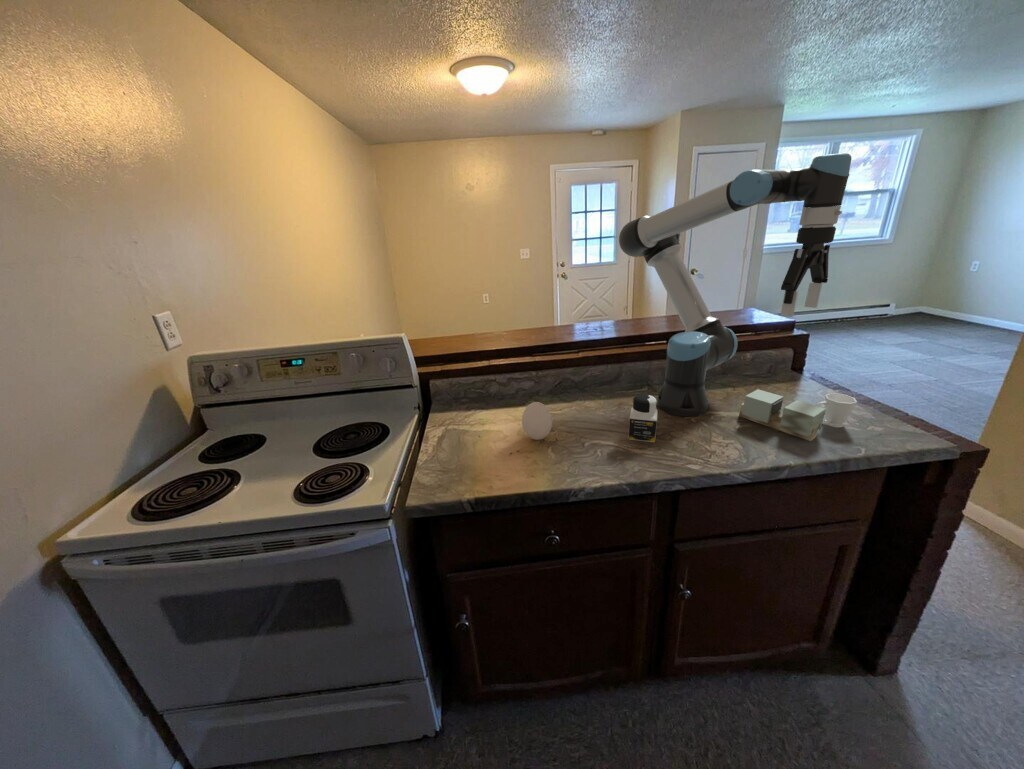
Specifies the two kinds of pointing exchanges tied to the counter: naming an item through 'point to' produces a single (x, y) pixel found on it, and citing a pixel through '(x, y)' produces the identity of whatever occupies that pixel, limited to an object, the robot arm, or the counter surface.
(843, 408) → the cup
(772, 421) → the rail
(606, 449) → the counter surface
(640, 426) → the medicine bottle
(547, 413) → the egg
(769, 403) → the block
